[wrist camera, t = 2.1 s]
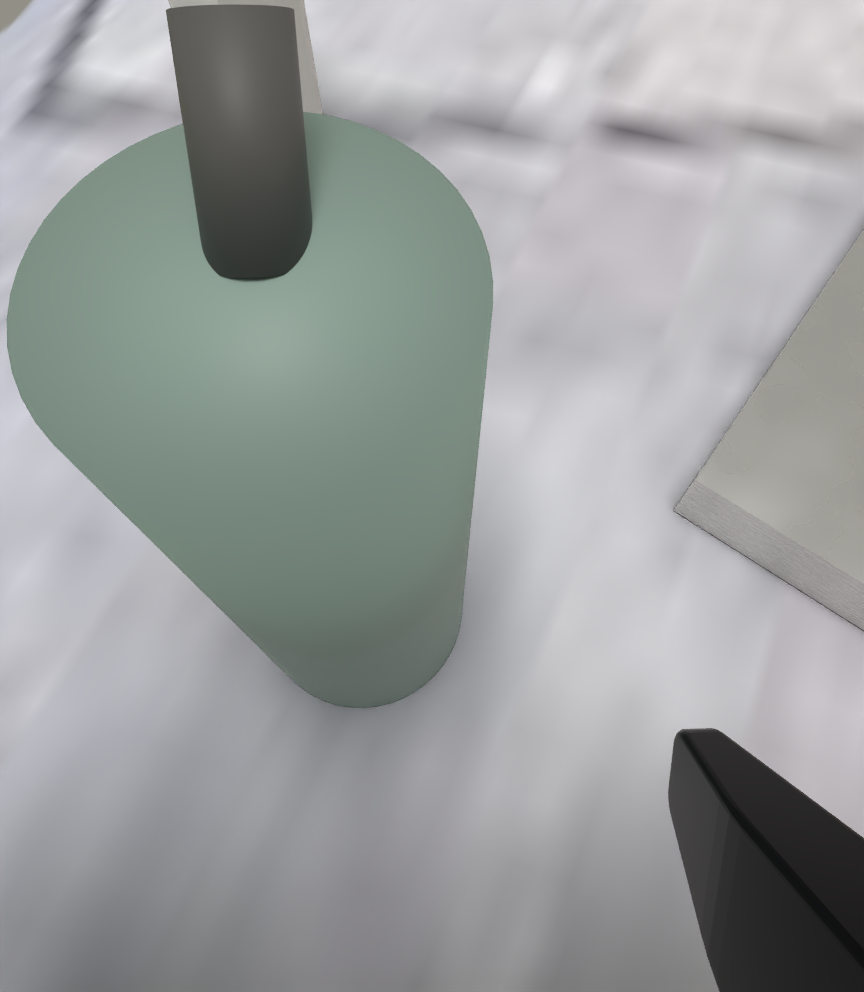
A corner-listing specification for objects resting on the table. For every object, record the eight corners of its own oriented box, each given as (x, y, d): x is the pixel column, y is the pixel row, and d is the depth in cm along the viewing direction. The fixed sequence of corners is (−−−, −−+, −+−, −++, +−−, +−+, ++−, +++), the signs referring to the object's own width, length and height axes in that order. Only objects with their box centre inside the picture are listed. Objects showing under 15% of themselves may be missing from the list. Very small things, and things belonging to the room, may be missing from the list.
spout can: (465, 705, 19) (528, 402, 5) (260, 710, 19) (-195, 419, 5) (458, 512, 21) (491, -70, 7) (271, 517, 21) (-42, -56, 7)
